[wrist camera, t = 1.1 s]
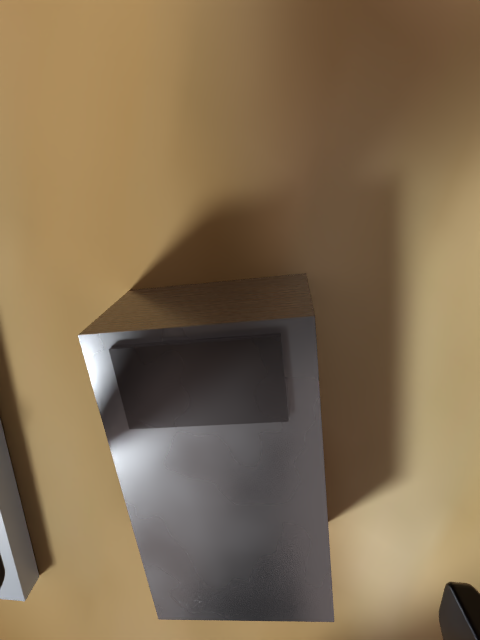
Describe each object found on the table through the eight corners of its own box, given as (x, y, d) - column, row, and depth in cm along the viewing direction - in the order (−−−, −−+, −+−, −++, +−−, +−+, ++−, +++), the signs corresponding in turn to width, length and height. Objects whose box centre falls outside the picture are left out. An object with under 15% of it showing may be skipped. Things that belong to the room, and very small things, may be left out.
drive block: (322, 518, 15) (334, 629, 11) (184, 520, 15) (156, 626, 12) (305, 271, 11) (315, 319, 8) (132, 287, 12) (73, 339, 9)
